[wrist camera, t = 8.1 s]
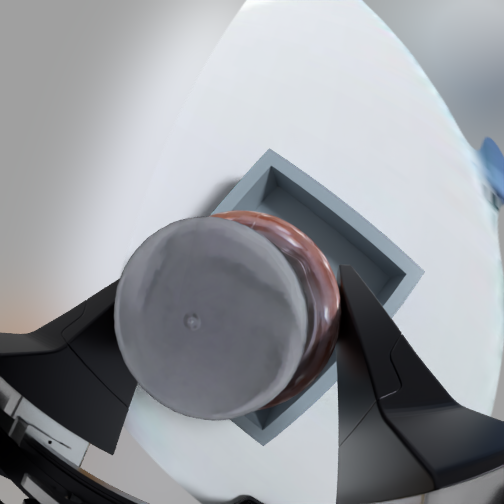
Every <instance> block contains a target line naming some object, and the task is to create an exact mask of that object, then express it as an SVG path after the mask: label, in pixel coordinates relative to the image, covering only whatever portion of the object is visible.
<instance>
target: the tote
mask: <svg viewBox="0 0 504 504" xmlns="http://www.w3.org/2000/svg"><path fill="white" fill-rule="evenodd" d="M234 210H241V211H254V212H260V213H265V214H270V215H272V216H275V217H278V218H280V219H282V220H284V221H286V222H288V223H290V224H292V225H293V226H295V227H296V228H298V229H300V230H301V231H302V232H303V233H304V234H306V235H307V236H308V237H309V238H310V239H311V240H312V241H313V242H314V243H315V244H316V245H317V246H318V248H319V249H320V250H321V251H322V253H323V254H324V255H325V257H326V259H327V260H328V262H329V264H330V266H331V269H332V271H333V273H334V275H335V278H337V271H338V266H339V265H340V264H346V265H351V266H352V267H353V268H354V269H355V271H356V272H357V273H358V274H359V276H360V277H361V278H362V280H363V281H364V282H365V283H366V285H367V286H368V287H369V289H370V290H371V291H372V293H373V294H374V295H375V297H376V298H377V299H378V301H379V302H380V303H381V305H382V306H383V308H384V309H385V310H386V312H387V313H388V314H389V316H390V317H391V319H392V317H393V316H394V315H395V313H396V312H397V311H398V309H399V308H400V307H401V305H402V304H403V303H404V301H405V300H406V299H407V297H408V296H409V294H410V293H411V292H412V290H413V289H414V287H415V286H416V284H417V283H418V281H419V280H420V278H421V277H422V275H423V274H424V272H425V271H424V270H423V269H421V268H420V267H419V266H418V265H417V264H416V263H415V262H414V261H413V260H412V259H411V258H410V257H409V256H408V255H407V254H405V253H404V252H403V251H402V250H401V249H400V248H399V247H398V246H397V245H395V244H394V243H393V242H392V241H391V240H390V239H389V238H387V237H386V236H385V235H384V234H383V233H382V232H381V231H379V230H378V229H377V228H376V227H375V226H373V225H372V224H371V223H370V222H369V221H367V220H366V219H365V218H364V217H363V216H361V215H360V214H359V213H358V212H356V211H355V210H354V209H353V208H351V207H350V206H349V205H348V204H346V203H345V202H344V201H342V200H341V199H340V198H339V197H337V196H336V195H335V194H333V193H332V192H331V191H329V190H328V189H327V188H325V187H324V186H323V185H321V184H320V183H319V182H317V181H316V180H315V179H313V178H312V177H310V176H309V175H308V174H306V173H305V172H303V171H302V170H301V169H299V168H298V167H296V166H295V165H293V164H292V163H290V162H289V161H288V160H286V159H285V158H283V157H282V156H280V155H279V154H277V153H276V152H274V151H273V150H271V149H270V148H269V149H268V150H267V152H266V153H265V154H264V155H263V156H262V157H261V158H260V159H259V160H258V161H257V162H256V163H255V165H254V166H253V167H252V168H251V169H250V170H249V171H248V172H247V173H246V174H245V176H244V177H243V178H242V179H241V180H240V181H239V182H238V183H237V185H236V186H235V187H234V188H233V189H232V190H231V191H230V193H229V194H228V195H227V196H226V197H225V198H224V199H223V201H222V202H221V203H220V204H219V205H218V206H217V208H216V209H215V210H214V211H213V212H212V213H211V215H213V214H216V213H221V212H227V211H234ZM211 215H210V216H211ZM336 381H337V363H336V347H335V348H334V351H333V353H332V355H331V357H330V359H329V361H328V363H327V364H326V366H325V367H324V369H323V370H322V371H321V373H320V374H319V376H318V377H317V378H316V379H315V380H314V381H313V382H312V383H311V384H310V385H309V386H308V387H307V388H306V389H304V390H303V391H302V392H300V393H299V394H297V395H296V396H294V397H292V398H291V399H289V400H287V401H286V402H283V403H281V404H278V405H276V406H273V407H270V408H267V409H262V410H256V411H254V412H251V413H249V414H246V415H243V416H239V417H236V418H232V419H230V420H231V421H232V422H234V423H235V424H236V425H237V426H238V427H240V428H241V429H242V430H243V431H245V432H246V433H247V434H248V435H250V436H251V437H252V438H254V439H255V440H256V441H257V442H259V443H260V444H261V445H263V446H264V445H265V444H267V443H268V442H269V441H271V440H272V439H273V438H274V437H276V436H277V435H278V434H279V433H281V432H282V431H283V430H284V429H285V428H287V427H288V426H289V425H290V424H291V423H293V422H294V421H295V420H296V419H297V418H298V417H299V416H301V415H302V414H303V413H304V412H305V411H306V410H307V409H308V408H309V407H311V406H312V405H313V404H314V403H315V402H316V401H317V400H318V399H319V398H320V397H321V396H322V395H323V394H324V393H325V392H326V391H327V390H328V389H329V388H330V387H331V386H332V385H333V384H334V383H335V382H336Z"/></svg>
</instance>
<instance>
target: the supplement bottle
mask: <svg viewBox="0 0 504 504" xmlns="http://www.w3.org/2000/svg"><path fill="white" fill-rule="evenodd" d="M341 311H342V310H341V299H340V294H339V289H338V285H337V281H336V278H335V275H334V273H333V271H332V269H331V266H330V264H329V262H328V260H327V259H326V257H325V255H324V254H323V253H322V251H321V250H320V249H319V248H318V246H317V245H316V244H315V243H314V242H313V241H312V240H311V239H310V238H309V237H308V236H307V235H306V234H304V233H303V232H302V231H301V230H300V229H298V228H296V227H295V226H293V225H292V224H290V223H288V222H286V221H284V220H282V219H280V218H278V217H275V216H272V215H270V214H265V213H260V212H254V211H241V210H234V211H227V212H221V213H216V214H213V215H211V216H208V217H194V218H188V219H183V220H179V221H176V222H173V223H171V224H169V225H167V226H166V227H164V228H162V229H160V230H158V231H157V232H156V233H154V234H153V235H151V236H150V237H148V238H147V239H146V240H145V241H144V242H143V243H142V244H141V246H139V247H138V248H137V250H136V251H135V252H134V254H133V255H132V256H131V258H130V259H129V261H128V263H127V264H126V266H125V268H124V270H123V273H122V275H121V278H120V280H119V283H118V286H117V290H116V297H115V305H114V321H115V325H114V328H115V333H116V337H117V342H118V346H119V349H120V351H121V353H122V357H123V360H124V362H125V364H126V366H127V367H128V369H129V371H130V372H131V374H132V375H133V377H134V378H135V379H136V381H137V382H138V383H139V384H140V386H141V387H142V388H143V389H144V390H145V391H146V392H147V393H149V394H150V395H151V396H152V397H153V398H154V399H156V400H157V401H158V402H160V403H161V404H163V405H164V406H166V407H168V408H170V409H171V410H173V411H175V412H178V413H181V414H183V415H185V416H189V417H193V418H199V419H204V420H227V419H232V418H236V417H239V416H243V415H246V414H249V413H251V412H254V411H256V410H262V409H267V408H270V407H273V406H276V405H278V404H281V403H283V402H286V401H287V400H289V399H291V398H292V397H294V396H296V395H297V394H299V393H300V392H302V391H303V390H304V389H306V388H307V387H308V386H309V385H310V384H311V383H312V382H313V381H314V380H315V379H316V378H317V377H318V376H319V374H320V373H321V371H322V370H323V369H324V367H325V366H326V364H327V363H328V361H329V359H330V357H331V355H332V353H333V351H334V348H335V346H336V343H337V340H338V336H339V332H340V322H341Z"/></svg>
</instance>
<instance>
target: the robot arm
mask: <svg viewBox="0 0 504 504" xmlns="http://www.w3.org/2000/svg"><path fill="white" fill-rule="evenodd" d="M119 280H120V279H118V280H117V281H115V282H114V283H112V284H111V285H109V286H107V287H106V288H104V289H102V290H101V291H99V292H98V293H96V294H95V295H93V296H92V297H90V298H88V299H87V300H85V301H84V302H82V303H81V304H79V305H78V306H76V307H74V308H73V309H71V310H70V311H68V312H66V313H65V314H63V315H61V316H60V317H58V318H56V319H55V320H53V321H51V322H49V323H48V324H46V325H44V326H43V327H41V328H39V329H38V330H36V331H34V332H31V333H28V334H12V333H0V475H2V476H4V477H6V478H8V479H10V480H12V481H13V483H14V484H15V485H16V486H17V487H18V488H19V489H21V491H22V492H23V493H24V494H25V495H27V496H28V497H29V498H28V499H24V500H23V504H149V503H147V502H144V501H142V500H140V499H137V498H135V497H133V496H131V495H129V494H127V493H125V492H123V491H121V490H119V489H117V488H114V487H113V486H110V485H109V484H107V483H105V482H104V481H102V480H100V479H98V478H96V477H95V476H93V475H91V474H90V473H88V472H86V471H85V470H83V469H82V468H80V466H81V463H82V461H83V459H84V456H85V454H86V452H87V449H88V447H89V445H90V444H92V445H94V446H96V447H98V448H99V449H101V450H104V451H105V452H107V453H109V454H111V455H113V454H114V451H115V449H116V445H117V442H118V439H119V436H120V433H121V430H122V427H123V424H124V421H125V418H126V415H127V412H128V409H129V406H130V403H131V400H132V397H133V394H134V392H135V389H136V386H137V383H138V382H137V381H136V379H135V378H134V377H133V375H132V374H131V372H130V371H129V369H128V367H127V366H126V364H125V362H124V360H123V357H122V353H121V351H120V349H119V346H118V342H117V337H116V333H115V328H114V325H115V321H114V305H115V297H116V290H117V286H118V283H119ZM336 281H337V285H338V289H339V294H340V299H341V310H342V311H341V322H340V332H339V336H338V340H337V343H336V346H335V347H336V363H337V382H338V415H339V448H338V480H337V498H336V504H504V421H501V420H498V419H495V418H492V417H489V416H487V415H484V414H481V413H479V412H476V411H473V410H471V409H468V408H466V407H463V406H462V405H460V404H459V403H458V402H456V401H455V400H454V399H453V398H452V397H451V396H450V395H449V394H448V392H447V391H446V390H445V389H444V387H443V386H442V385H441V384H440V382H439V381H438V380H437V379H436V377H435V376H434V375H433V374H432V373H431V371H430V370H429V369H428V368H427V367H426V365H425V364H424V363H423V361H422V360H421V359H420V358H419V356H418V355H417V354H416V352H415V351H414V350H413V348H412V347H411V345H410V344H409V343H408V341H407V340H406V338H405V337H404V335H403V334H401V331H400V330H399V328H398V327H397V326H396V324H395V323H394V321H393V320H392V319H391V317H390V316H389V314H388V313H387V312H386V310H385V309H384V308H383V306H382V305H381V303H380V302H379V301H378V299H377V298H376V297H375V295H374V294H373V293H372V291H371V290H370V289H369V287H368V286H367V285H366V283H365V282H364V281H363V280H362V278H361V277H360V276H359V274H358V273H357V272H356V271H355V269H354V268H353V267H352V266H351V265H346V264H340V265H339V266H338V271H337V278H336ZM248 501H250V502H248ZM0 504H4V503H3V502H2V501H1V500H0ZM235 504H263V503H261V502H260V501H258V500H256V499H255V498H253V497H246V498H244V499H242V500H240V501H238V502H236V503H235Z"/></svg>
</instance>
